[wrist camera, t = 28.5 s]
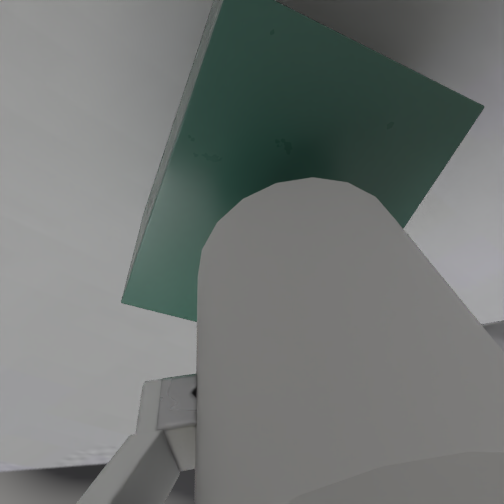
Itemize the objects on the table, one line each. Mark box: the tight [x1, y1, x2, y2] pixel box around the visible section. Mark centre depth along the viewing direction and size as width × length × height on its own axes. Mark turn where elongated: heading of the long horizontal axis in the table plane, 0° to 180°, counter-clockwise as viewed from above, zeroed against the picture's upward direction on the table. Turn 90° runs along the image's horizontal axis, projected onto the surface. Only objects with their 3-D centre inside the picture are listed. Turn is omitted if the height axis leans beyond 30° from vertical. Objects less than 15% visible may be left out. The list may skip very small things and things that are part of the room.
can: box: [195, 177, 504, 504], centre depth 11 cm, size 8×8×12 cm
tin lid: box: [121, 0, 484, 322], centre depth 19 cm, size 14×11×1 cm
